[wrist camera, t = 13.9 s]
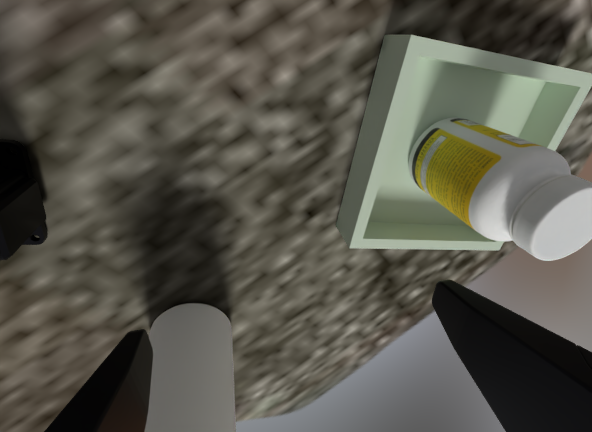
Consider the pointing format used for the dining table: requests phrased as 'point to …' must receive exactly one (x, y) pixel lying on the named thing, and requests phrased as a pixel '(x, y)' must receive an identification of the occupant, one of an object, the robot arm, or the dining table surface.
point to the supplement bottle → (504, 187)
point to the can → (191, 371)
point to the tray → (427, 111)
